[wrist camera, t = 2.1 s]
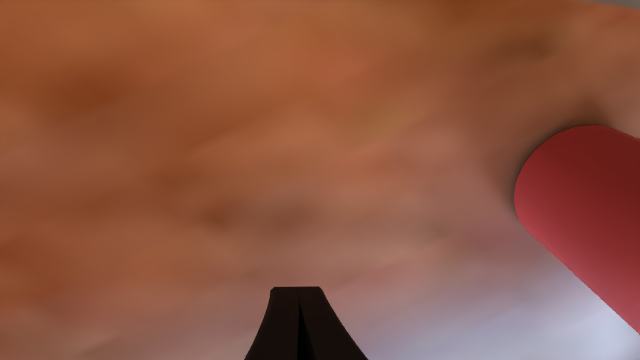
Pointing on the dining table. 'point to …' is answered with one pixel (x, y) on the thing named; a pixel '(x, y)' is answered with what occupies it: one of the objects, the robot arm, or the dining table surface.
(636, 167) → the beer can
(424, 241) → the dining table surface
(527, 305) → the dining table surface
